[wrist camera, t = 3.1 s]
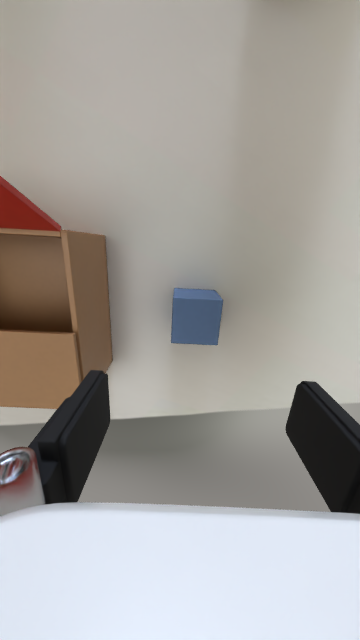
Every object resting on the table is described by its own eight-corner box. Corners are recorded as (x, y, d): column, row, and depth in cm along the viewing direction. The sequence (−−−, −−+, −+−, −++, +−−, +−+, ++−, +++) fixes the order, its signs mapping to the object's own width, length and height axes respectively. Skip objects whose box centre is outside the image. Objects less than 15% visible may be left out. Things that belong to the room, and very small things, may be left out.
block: (174, 287, 26) (173, 297, 21) (215, 290, 26) (223, 300, 21) (172, 326, 27) (171, 343, 22) (211, 328, 27) (217, 345, 23)
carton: (-31, 227, 23) (-159, 216, 14) (105, 235, 24) (60, 229, 15) (2, 355, 29) (-77, 404, 20) (112, 360, 29) (83, 410, 20)
